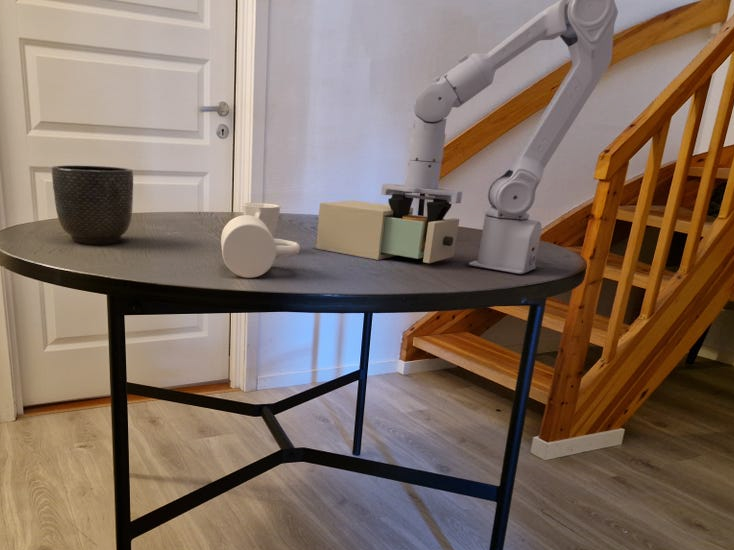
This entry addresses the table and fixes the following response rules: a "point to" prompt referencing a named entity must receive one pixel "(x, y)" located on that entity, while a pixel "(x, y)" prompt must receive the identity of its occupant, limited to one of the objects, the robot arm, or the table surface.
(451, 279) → the table surface
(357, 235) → the cabinet
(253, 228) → the mug
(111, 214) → the planter
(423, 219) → the tumbler
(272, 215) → the cup
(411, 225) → the drawer
